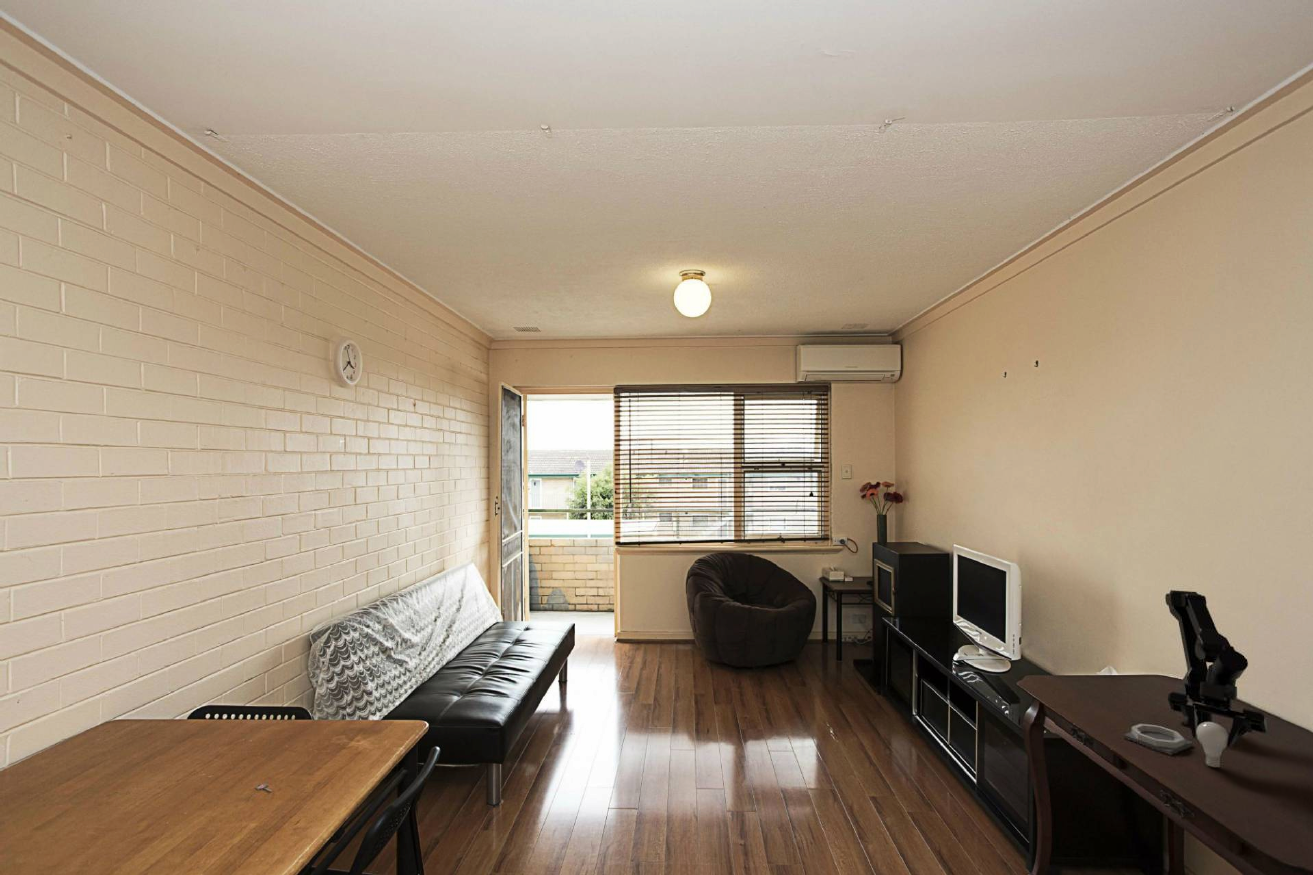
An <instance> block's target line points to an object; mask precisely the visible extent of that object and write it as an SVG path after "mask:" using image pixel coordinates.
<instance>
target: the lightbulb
mask: <svg viewBox="0 0 1313 875" xmlns="http://www.w3.org/2000/svg"><path fill="white" fill-rule="evenodd" d="M1228 733H1229V732H1228V731H1227V730H1226V728H1224V727H1223V726H1222V725H1220V724H1219V723H1216V722H1214V721H1213V722H1203V723H1201V724H1199V725H1198V726H1197V728H1196V738H1197V740H1198V742H1199V744H1200V745H1201V746H1202V748H1203V751H1204V753H1205V764H1206V765H1207V766H1208V767H1211V768H1220V758H1221V756H1222V752H1223V750H1224V749H1226V748H1227V747H1228V746H1227V744H1228V738H1229V734H1228Z"/></svg>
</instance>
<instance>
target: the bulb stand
mask: <svg viewBox="0 0 1313 875" xmlns="http://www.w3.org/2000/svg"><path fill="white" fill-rule="evenodd" d="M1124 738H1126V739H1125V740H1127V739H1128V740H1127V741H1130V740H1132V741H1134V742H1133V743H1135V742H1137V743H1136V744H1138V743H1139V744H1138V745H1140V744H1142V745H1141V746H1143V745H1145V746H1144V747H1146V746H1147V747H1146V748H1149V747H1150V748H1149V749H1152V750H1154V749H1156V750H1155V751H1157V750H1158V751H1157V752H1159V751H1161V752H1160V753H1162V752H1164V753H1163V754H1165V753H1167V754H1169V755H1168V756H1172V754H1173V753H1175V754H1178V753H1179V751H1180V752H1181V751H1184V750H1186V749H1188V748H1191V747H1193V742H1192V741H1190V740H1188V739H1186V738H1184V737H1183V736H1182V735H1181V734H1180V733H1179V732H1178V731H1176V730H1173V729H1170V728H1167V727H1163V726H1160V725H1158V724H1157V725H1155V724H1154V725H1153V724H1146V723H1138V724H1135V725H1134V726H1131V731H1130V732H1127V733H1125V734H1123V739H1124ZM1132 741H1131V742H1132ZM1167 754H1166V755H1167ZM1173 755H1174V754H1173Z"/></svg>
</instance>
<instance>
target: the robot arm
mask: <svg viewBox="0 0 1313 875" xmlns="http://www.w3.org/2000/svg"><path fill="white" fill-rule="evenodd" d="M1164 598H1165V604H1166V605H1167V607H1168V610H1169V613H1170V614H1171V615H1172V617H1174V618H1175V620H1176V621H1178V622H1177V623H1178V627H1179V632H1180V636H1181V637H1180V638H1181V643H1182V648H1183V653H1184V659H1185V665H1186V669H1187V671H1186V673H1185V675H1184V676H1183V678H1182V684H1181V685H1180V688H1178V691H1177V692H1176V691H1172V690H1171V691H1170V692H1169V693H1168V696H1167V700H1168V701H1167V702H1168V704H1169V706H1170V708H1171V710H1172V711H1174V712H1178V713H1182V716H1184V717H1186V719H1185V720H1183V721H1181V722H1180V724H1181V725H1183V726H1185V727H1190V730H1191V735H1192V738H1193V739H1196V738H1197V736H1196V728H1197V726H1198V725H1199V724H1201V723H1203V722H1214V720H1213V719H1214V716H1213V715H1216V716H1221V717H1224V718H1228V719H1231V720H1232V725H1231V729H1230V731H1229V734H1228V735H1229V738H1228V744H1227V746H1226V747H1227V748H1229V749H1230V748H1232V746H1233V745H1235V743H1237V741H1238V740H1239V739H1240V738H1241V737H1242V736H1244V735H1245V734H1246V733H1253V732H1259V733H1263V734H1266V733H1267V731H1268V722H1267V716H1266V714H1265V713H1264V712H1263V711H1259V710H1254V709H1250V708H1247V707H1244V708H1243V709H1242V712H1240V711H1238V710H1237V711H1236V710H1233V704H1234V701H1238V687H1237V686H1236V685H1237V684H1236V683H1237V680H1238V679H1240V677H1241V676H1242V675H1243V674H1244V672H1245V671H1246V669H1247V668H1248V666H1249V661H1248V659H1247V658H1246V657H1245V655H1244V654H1243V653H1241V652H1238V651H1237V650H1236V649H1235V647H1234V646H1231V643H1230V642H1229V640H1228V638H1227V637H1226V636H1224V635H1223V634H1221V633H1220V632H1218V630H1217V627H1216V624H1215V622H1214V620H1213V617H1212V615H1211V613H1210V611H1209V608H1208V606H1207V599H1206V598H1207V597H1206V596H1205V595H1202V594H1200V593H1198V592H1197V591H1191V590H1190V591H1188V590H1174V589H1173V590H1172V589H1171V590H1170V591H1169V593H1166V594H1165V596H1164ZM1208 663H1210V665H1208Z"/></svg>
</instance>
